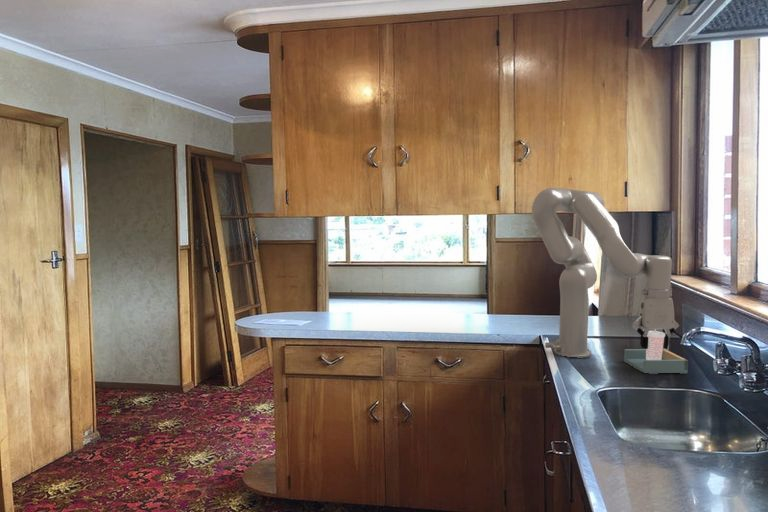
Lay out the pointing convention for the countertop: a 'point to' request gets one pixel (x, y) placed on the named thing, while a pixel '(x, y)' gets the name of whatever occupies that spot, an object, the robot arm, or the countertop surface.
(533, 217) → the robot arm
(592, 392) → the countertop surface
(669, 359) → the tray
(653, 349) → the beverage cup
